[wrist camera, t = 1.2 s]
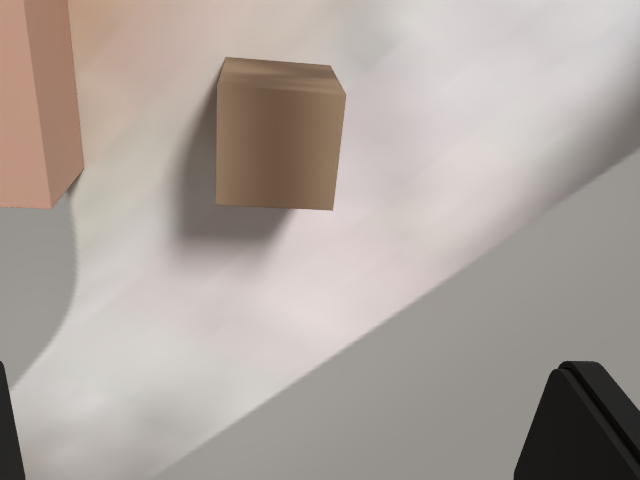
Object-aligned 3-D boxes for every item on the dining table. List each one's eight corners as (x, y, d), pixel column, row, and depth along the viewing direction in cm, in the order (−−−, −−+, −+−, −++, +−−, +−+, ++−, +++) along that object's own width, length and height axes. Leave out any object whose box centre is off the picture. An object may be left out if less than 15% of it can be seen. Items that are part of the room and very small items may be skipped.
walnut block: (330, 65, 27) (346, 94, 22) (320, 162, 30) (332, 210, 24) (225, 56, 27) (217, 85, 22) (224, 156, 29) (215, 204, 24)
